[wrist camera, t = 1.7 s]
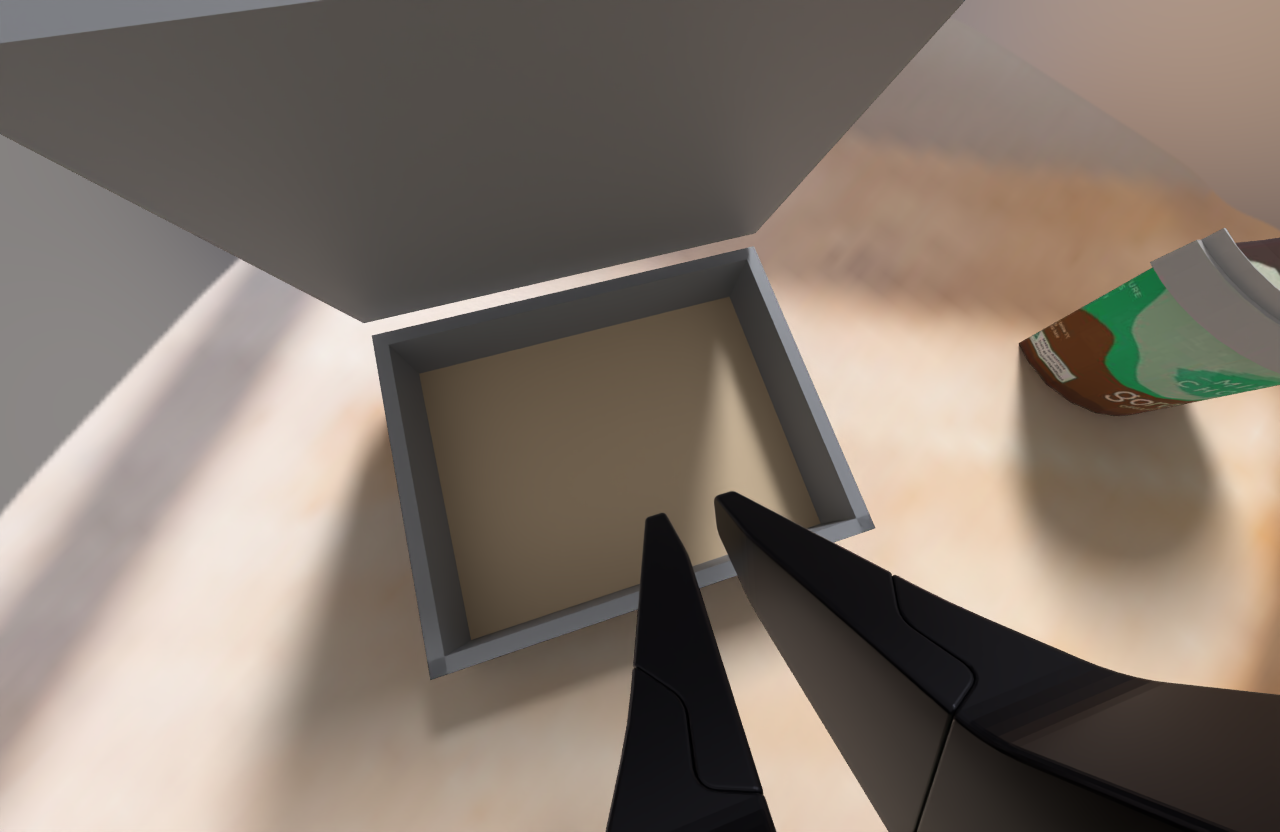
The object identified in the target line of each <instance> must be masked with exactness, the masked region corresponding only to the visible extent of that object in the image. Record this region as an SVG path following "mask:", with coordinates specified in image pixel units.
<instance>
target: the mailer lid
mask: <svg viewBox="0 0 1280 832" xmlns="http://www.w3.org/2000/svg"><path fill="white" fill-rule="evenodd" d="M964 1H965V0H0V134H1V135H3V136H5V137H7V138H9V139H11V140H13V141H15V142H16V143H19V144H20V145H22V146H24V147H26V148H28V149H30V150H32V151H34V152H36V153H38V154H40V155H42V156H44V157H45V158H47V159H49V160H51V161H53V162H55V163H57V164H59V165H61V166H63V167H65V168H67V169H68V170H71V171H72V172H74V173H76V174H78V175H80V176H82V177H84V178H86V179H88V180H90V181H91V182H94V183H95V184H97V185H99V186H101V187H103V188H105V189H107V190H109V191H111V192H113V193H115V194H117V195H119V196H120V197H122V198H124V199H126V200H128V201H130V202H132V203H134V204H136V205H138V206H140V207H142V208H144V209H145V210H147V211H149V212H151V213H153V214H155V215H157V216H159V217H161V218H163V219H165V220H167V221H169V222H170V223H172V224H174V225H176V226H178V227H180V228H182V229H184V230H186V231H188V232H190V233H192V234H193V235H195V236H197V237H199V238H201V239H203V240H205V241H207V242H209V243H211V244H213V245H215V246H217V247H218V248H220V249H223V250H224V251H226V252H228V253H230V254H232V255H234V256H236V257H238V258H240V259H242V260H243V261H245V262H247V263H249V264H251V265H253V266H255V267H257V268H259V269H261V270H263V271H265V272H267V273H268V274H270V275H272V276H274V277H276V278H278V279H280V280H282V281H284V282H286V283H288V284H290V285H292V286H293V287H295V288H297V289H299V290H301V291H303V292H305V293H307V294H309V295H311V296H313V297H315V298H317V299H318V300H320V301H322V302H324V303H326V304H328V305H330V306H332V307H334V308H336V309H338V310H340V311H342V312H344V313H345V314H347V315H349V316H351V317H353V318H355V319H357V320H359V321H361V322H363V323H367V322H371V321H375V320H380V319H384V318H388V317H393V316H397V315H401V314H406V313H410V312H414V311H419V310H423V309H427V308H432V307H436V306H441V305H445V304H449V303H454V302H458V301H462V300H467V299H471V298H475V297H480V296H484V295H488V294H493V293H497V292H501V291H506V290H510V289H515V288H519V287H523V286H528V285H532V284H536V283H541V282H545V281H549V280H554V279H558V278H562V277H567V276H571V275H575V274H580V273H584V272H589V271H593V270H597V269H602V268H606V267H610V266H615V265H619V264H623V263H628V262H632V261H636V260H641V259H645V258H649V257H654V256H658V255H663V254H667V253H671V252H676V251H680V250H684V249H689V248H693V247H697V246H702V245H706V244H710V243H715V242H719V241H724V240H728V239H732V238H737V237H741V236H745V235H750V234H754V233H756V232H757V231H758V230H759V229H760V227H761V226H762V225H763V224H764V223H765V222H766V221H767V220H768V219H769V217H770V216H771V215H772V214H773V213H774V212H775V211H776V210H777V209H778V207H779V206H780V205H781V204H782V203H783V202H784V201H785V200H786V199H787V197H788V196H789V195H790V194H791V193H792V192H793V191H794V190H795V189H796V187H797V186H798V185H799V184H800V183H801V182H802V181H803V180H804V179H805V178H806V176H807V175H808V174H809V173H810V172H811V171H812V170H813V169H814V168H815V166H816V165H817V164H818V163H819V162H820V161H821V160H822V159H823V158H824V156H825V155H826V154H827V153H828V152H829V151H830V150H831V149H832V148H833V146H834V145H835V144H836V143H837V142H838V141H839V140H840V139H841V138H842V136H843V135H844V134H845V133H846V132H847V131H848V130H849V129H850V128H851V126H852V125H853V124H854V123H855V122H856V121H857V120H858V119H859V118H860V116H861V115H862V114H863V113H864V112H865V111H866V110H867V109H868V108H869V107H870V105H871V104H872V103H873V102H874V101H875V100H876V99H877V98H878V97H879V95H880V94H881V93H882V92H883V91H884V90H885V89H886V88H887V87H888V85H889V84H890V83H891V82H892V81H893V80H894V79H895V78H896V77H897V75H898V74H899V73H900V72H901V71H902V70H903V69H904V68H905V67H906V65H907V64H908V63H909V62H910V61H911V60H912V59H913V58H914V57H915V55H916V54H917V53H918V52H919V51H920V50H921V49H922V48H923V47H924V45H925V44H926V43H927V42H928V41H929V40H930V39H931V38H932V37H933V36H934V34H935V33H936V32H937V31H938V30H939V29H940V28H941V27H942V26H943V24H944V23H945V22H946V21H947V20H948V19H949V18H950V17H951V15H952V14H953V13H954V12H955V11H956V10H957V9H958V8H959V7H960V6H961V4H962V3H963V2H964Z"/></svg>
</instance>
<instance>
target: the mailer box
mask: <svg viewBox="0 0 1280 832" xmlns="http://www.w3.org/2000/svg"><path fill="white" fill-rule="evenodd" d="M372 339H373V345H374V351H375V357H376V363H377V369H378V374H379V380H380V386H381V392H382V398H383V404H384V410H385V415H386V421H387V427H388V433H389V439H390V445H391V451H392V457H393V462H394V468H395V474H396V480H397V486H398V492H399V498H400V504H401V509H402V515H403V521H404V527H405V533H406V539H407V545H408V550H409V556H410V562H411V568H412V574H413V580H414V586H415V592H416V597H417V603H418V609H419V615H420V621H421V627H422V633H423V638H424V644H425V650H426V656H427V662H428V668H429V674H430V680H432V679H435V678H438V677H441V676H444V675H447V674H450V673H453V672H455V671H458V670H461V669H464V668H467V667H470V666H473V665H476V664H479V663H482V662H485V661H488V660H491V659H494V658H496V657H499V656H502V655H505V654H508V653H511V652H514V651H517V650H520V649H523V648H526V647H529V646H532V645H535V644H538V643H540V642H543V641H546V640H549V639H552V638H555V637H558V636H561V635H564V634H567V633H570V632H573V631H576V630H579V629H581V628H584V627H587V626H590V625H593V624H596V623H599V622H602V621H605V620H608V619H611V618H614V617H617V616H620V615H622V614H625V613H628V612H631V611H634V610H637V609H638V601H639V589H640V577H641V565H642V552H643V540H644V528H645V520H646V518H647V517H649V516H652V515H655V514H659V513H665V514H666V515H667V516H668V518H669V520H670V522H671V523H672V525H673V527H674V529H675V531H676V532H677V534H678V536H679V538H680V540H681V541H682V543H683V545H684V547H685V549H686V551H687V553H688V555H689V558H690V560H691V563H692V566H693V569H694V573H695V576H696V579H697V582H698V585H699V588H702V587H705V586H707V585H710V584H713V583H716V582H719V581H722V580H725V579H728V578H731V577H734V576H737V574H736V571H735V569H734V567H733V565H732V563H731V560H730V558H729V556H728V554H727V552H726V550H725V547H724V545H723V543H722V541H721V539H720V536H719V534H718V530H717V525H716V516H715V507H714V498H715V497H716V496H717V495H720V494H723V493H726V492H729V491H735V492H737V493H739V494H741V495H743V496H745V497H747V498H749V499H751V500H753V501H755V502H756V503H758V504H760V505H762V506H764V507H766V508H768V509H770V510H772V511H774V512H776V513H778V514H780V515H781V516H783V517H785V518H787V519H789V520H791V521H793V522H795V523H797V524H799V525H801V526H803V527H804V528H806V529H808V530H810V531H812V532H814V533H816V534H818V535H820V536H822V537H824V538H826V539H828V540H829V541H831V542H836V541H839V540H842V539H845V538H848V537H851V536H854V535H857V534H860V533H863V532H866V531H869V530H872V529H874V528H875V526H874V524H873V521H872V519H871V517H870V515H869V512H868V510H867V508H866V505H865V503H864V501H863V498H862V496H861V494H860V491H859V489H858V487H857V484H856V482H855V480H854V477H853V475H852V473H851V470H850V468H849V466H848V464H847V461H846V459H845V457H844V454H843V452H842V450H841V447H840V445H839V443H838V440H837V438H836V436H835V433H834V431H833V429H832V426H831V424H830V422H829V419H828V417H827V415H826V413H825V410H824V408H823V406H822V403H821V401H820V399H819V396H818V394H817V392H816V389H815V387H814V385H813V382H812V380H811V378H810V375H809V373H808V371H807V368H806V366H805V364H804V362H803V359H802V357H801V355H800V352H799V350H798V348H797V345H796V343H795V341H794V338H793V336H792V334H791V331H790V329H789V327H788V324H787V322H786V320H785V317H784V315H783V313H782V311H781V308H780V306H779V304H778V301H777V299H776V297H775V294H774V292H773V290H772V287H771V285H770V283H769V280H768V278H767V276H766V273H765V271H764V269H763V266H762V264H761V262H760V260H759V257H758V255H757V253H756V250H755V248H754V246H753V247H749V248H745V249H740V250H736V251H732V252H727V253H723V254H719V255H715V256H710V257H706V258H702V259H697V260H693V261H689V262H685V263H680V264H676V265H672V266H668V267H663V268H659V269H655V270H650V271H646V272H642V273H638V274H633V275H629V276H625V277H621V278H616V279H612V280H608V281H603V282H599V283H595V284H591V285H586V286H582V287H578V288H574V289H569V290H565V291H561V292H556V293H552V294H548V295H544V296H539V297H535V298H531V299H527V300H522V301H518V302H514V303H509V304H505V305H501V306H497V307H492V308H488V309H484V310H479V311H475V312H471V313H467V314H462V315H458V316H454V317H450V318H445V319H441V320H437V321H432V322H428V323H424V324H420V325H415V326H411V327H407V328H403V329H398V330H394V331H390V332H385V333H381V334H377V335H373V336H372Z"/></svg>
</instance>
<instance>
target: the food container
mask: <svg viewBox="0 0 1280 832" xmlns="http://www.w3.org/2000/svg"><path fill="white" fill-rule="evenodd" d="M1150 263H1151V265H1152V267H1153V268H1151V269H1149V270H1147V271H1146V272H1144V273H1142V274H1140V275H1139V276H1137V277H1135V278H1133V279H1131V280H1130V281H1128V282H1126V283H1124V284H1123V285H1121V286H1119V287H1117V288H1116V289H1114V290H1112V291H1110V292H1108V293H1107V294H1105V295H1103V296H1101V297H1100V298H1098V299H1096V300H1094V301H1093V302H1091V303H1089V304H1087V305H1085V306H1084V307H1082V308H1080V309H1078V310H1077V311H1075V312H1073V313H1071V314H1070V315H1068V316H1066V317H1064V318H1063V319H1061V320H1059V321H1057V322H1055V323H1054V324H1052V325H1050V326H1048V327H1047V328H1045V329H1043V330H1041V331H1040V332H1038V333H1036V334H1034V335H1032V336H1031V337H1029V338H1027V339H1025V340H1024V341H1022V342H1020V343H1019V344H1020V346H1021V348H1022V350H1023V352H1024V354H1025V356H1026V358H1027V360H1028V362H1029V363H1030V364H1031V366H1032V367H1033V368H1034V369H1035V370H1036V372H1037V373H1038V374H1039V375H1040V377H1041V378H1042V379H1043V380H1044V382H1045V383H1046V384H1047V385H1049V386H1050V387H1051V388H1053V389H1054V390H1055V391H1056V392H1058V393H1059V394H1060V395H1062V396H1063V397H1064V398H1066V399H1067V400H1068V401H1069V402H1072V403H1074V404H1076V405H1079V406H1081V407H1083V408H1085V409H1088V410H1090V411H1092V412H1095V413H1100V414H1106V415H1113V416H1125V415H1132V414H1137V413H1142V412H1147V411H1152V410H1157V409H1162V408H1167V407H1172V406H1177V405H1182V404H1187V403H1192V402H1197V401H1202V400H1207V399H1212V398H1217V397H1222V396H1227V395H1232V394H1237V393H1242V392H1247V391H1252V390H1257V389H1262V388H1267V387H1272V386H1277V385H1280V238H1274V239H1268V240H1260V241H1250V242H1240V243H1235V242H1234V240H1233V239H1232V237H1231V236H1230V234H1229V233H1228V231H1227V229H1226V228H1223V229H1221V230H1219V231H1217V232H1215V233H1213V234H1211V235H1210V236H1208V237H1206V238H1204V239H1202V240H1196V241H1194V242H1191V243H1189V244H1187V245H1185V246H1183V247H1181V248H1179V249H1177V250H1175V251H1173V252H1171V253H1168V254H1166V255H1164V256H1162V257H1160V258H1158V259H1156V260H1154V261H1152V262H1150Z"/></svg>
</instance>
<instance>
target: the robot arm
mask: <svg viewBox="0 0 1280 832" xmlns="http://www.w3.org/2000/svg"><path fill="white" fill-rule="evenodd" d="M714 507H715V516H716V525H717V530H718V534H719V536H720V539H721V541H722V543H723V545H724V547H725V550H726V552H727V554H728V556H729V558H730V560H731V563H732V565H733V567H734V569H735V571H736V574H737V576H738V578H739V580H740V582H741V584H742V587H743V589H744V591H745V593H746V595H747V597H748V599H749V601H750V603H751V605H752V607H753V609H754V610H755V612H756V614H757V616H758V617H759V619H760V621H761V622H762V624H763V625H764V627H765V629H766V630H767V632H768V634H769V635H770V637H771V639H772V640H773V642H774V644H775V645H776V647H777V649H778V650H779V652H780V654H781V655H782V657H783V658H784V660H785V662H786V663H787V665H788V667H789V668H790V670H791V672H792V673H793V675H794V677H795V678H796V680H797V682H798V683H799V685H800V686H801V688H802V690H803V691H804V693H805V695H806V696H807V698H808V700H809V701H810V703H811V705H812V706H813V708H814V710H815V711H816V713H817V715H818V716H819V718H820V719H821V721H822V723H823V724H824V726H825V728H826V729H827V731H828V733H829V734H830V736H831V738H832V739H833V741H834V743H835V744H836V746H837V748H838V749H839V751H840V752H841V754H842V756H843V757H844V759H845V761H846V762H847V764H848V766H849V767H850V769H851V771H852V772H853V774H854V776H855V777H856V779H857V780H858V782H859V784H860V785H861V787H862V789H863V790H864V792H865V794H866V795H867V797H868V799H869V800H870V802H871V804H872V805H873V807H874V809H875V810H876V812H877V813H878V815H879V817H880V818H881V820H882V822H883V823H884V825H885V827H886V828H887V830H888V832H1280V695H1276V694H1267V693H1258V692H1249V691H1239V690H1230V689H1221V688H1212V687H1203V686H1194V685H1185V684H1176V683H1167V682H1159V681H1152V680H1147V679H1142V678H1137V677H1133V676H1130V675H1126V674H1122V673H1118V672H1115V671H1112V670H1109V669H1106V668H1103V667H1100V666H1097V665H1095V664H1092V663H1090V662H1087V661H1085V660H1082V659H1080V658H1078V657H1075V656H1073V655H1071V654H1068V653H1066V652H1064V651H1061V650H1059V649H1057V648H1054V647H1052V646H1049V645H1047V644H1045V643H1042V642H1040V641H1038V640H1035V639H1033V638H1031V637H1028V636H1026V635H1024V634H1021V633H1019V632H1017V631H1014V630H1012V629H1010V628H1007V627H1005V626H1003V625H1000V624H998V623H996V622H993V621H991V620H989V619H986V618H984V617H982V616H980V615H977V614H975V613H973V612H971V611H969V610H966V609H964V608H962V607H960V606H957V605H955V604H953V603H951V602H949V601H947V600H944V599H942V598H940V597H938V596H936V595H934V594H932V593H930V592H928V591H926V590H924V589H922V588H920V587H918V586H916V585H914V584H912V583H910V582H908V581H907V580H905V579H903V578H901V577H899V576H897V575H893V576H892V574H891V573H890V572H889V571H887V570H885V569H883V568H881V567H879V566H877V565H876V564H874V563H872V562H870V561H868V560H866V559H864V558H862V557H860V556H858V555H856V554H854V553H852V552H851V551H849V550H847V549H845V548H843V547H841V546H839V545H837V544H835V543H833V542H831V541H829V540H828V539H826V538H824V537H822V536H820V535H818V534H816V533H814V532H812V531H810V530H808V529H806V528H804V527H803V526H801V525H799V524H797V523H795V522H793V521H791V520H789V519H787V518H785V517H783V516H781V515H780V514H778V513H776V512H774V511H772V510H770V509H768V508H766V507H764V506H762V505H760V504H758V503H756V502H755V501H753V500H751V499H749V498H747V497H745V496H743V495H741V494H739V493H737V492H735V491H729V492H726V493H723V494H720V495H717V496H716V497H715V498H714ZM633 666H634V669H633V671H632V683H631V694H630V702H629V711H628V720H627V727H626V732H625V738H624V744H623V749H622V755H621V761H620V765H619V770H618V775H617V780H616V784H615V789H614V794H613V799H612V803H611V808H610V813H609V818H608V822H607V827H606V832H776V829H775V826H774V823H773V820H772V817H771V814H770V811H769V808H768V805H767V802H766V799H765V797H764V796H763V789H762V786H761V783H760V779H759V776H758V773H757V770H756V767H755V763H754V760H753V757H752V754H751V751H750V748H749V744H748V741H747V738H746V735H745V732H744V728H743V725H742V722H741V719H740V716H739V713H738V709H737V706H736V703H735V700H734V697H733V693H732V690H731V687H730V684H729V681H728V678H727V674H726V671H725V668H724V665H723V662H722V659H721V655H720V652H719V649H718V646H717V643H716V639H715V636H714V633H713V630H712V627H711V624H710V620H709V617H708V614H707V611H706V608H705V604H704V601H703V598H702V595H701V592H700V589H699V585H698V582H697V579H696V576H695V573H694V569H693V566H692V563H691V560H690V558H689V555H688V553H687V551H686V549H685V547H684V545H683V543H682V541H681V540H680V538H679V536H678V534H677V532H676V531H675V529H674V527H673V525H672V523H671V522H670V520H669V518H668V516H667V515H666V514H665V513H659V514H655V515H652V516H649V517H647V518H646V520H645V528H644V540H643V552H642V565H641V577H640V589H639V601H638V613H637V626H636V638H635V650H634V662H633Z"/></svg>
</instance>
